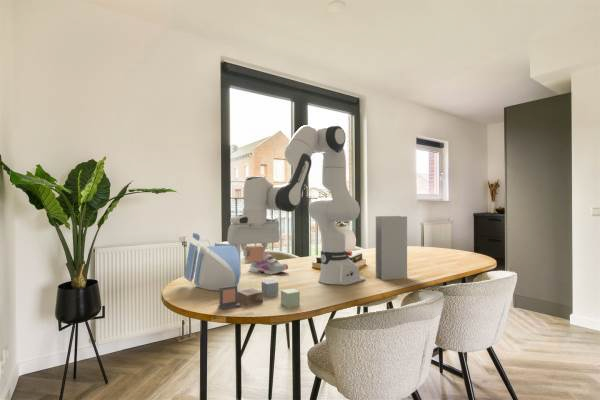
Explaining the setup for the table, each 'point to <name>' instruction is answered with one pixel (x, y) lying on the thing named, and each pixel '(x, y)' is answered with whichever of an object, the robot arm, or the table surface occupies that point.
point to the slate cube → (270, 288)
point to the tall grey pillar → (391, 247)
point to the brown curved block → (249, 296)
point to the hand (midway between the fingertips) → (254, 255)
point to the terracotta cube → (254, 253)
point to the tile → (228, 297)
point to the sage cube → (290, 297)
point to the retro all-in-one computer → (213, 266)
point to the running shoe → (267, 265)
